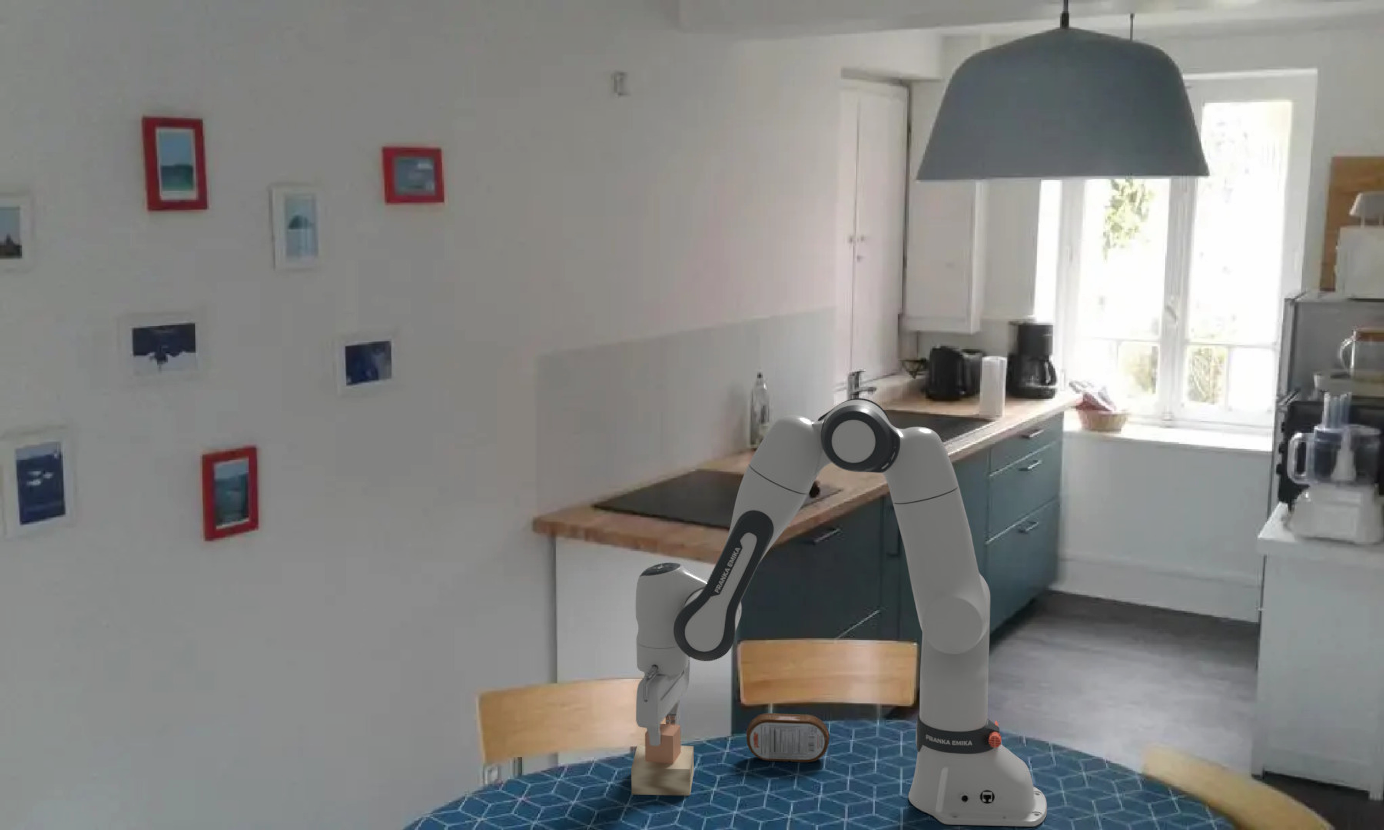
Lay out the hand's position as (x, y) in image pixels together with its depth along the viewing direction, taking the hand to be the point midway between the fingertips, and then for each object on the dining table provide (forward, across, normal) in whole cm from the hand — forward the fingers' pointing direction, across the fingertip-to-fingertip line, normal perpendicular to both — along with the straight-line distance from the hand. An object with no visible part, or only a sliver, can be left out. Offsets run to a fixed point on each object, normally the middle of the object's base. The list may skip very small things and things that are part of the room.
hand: (663, 733), depth 220 cm
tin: (+9, +15, -19) cm, 26 cm away
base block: (+9, 0, 0) cm, 9 cm away
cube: (+4, 0, 0) cm, 4 cm away
